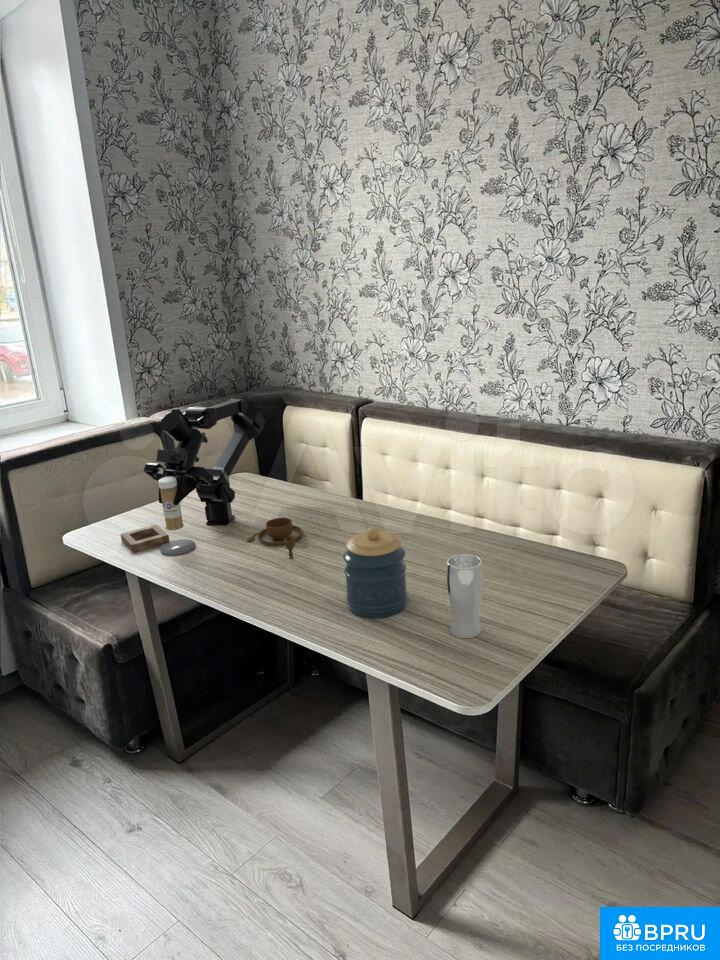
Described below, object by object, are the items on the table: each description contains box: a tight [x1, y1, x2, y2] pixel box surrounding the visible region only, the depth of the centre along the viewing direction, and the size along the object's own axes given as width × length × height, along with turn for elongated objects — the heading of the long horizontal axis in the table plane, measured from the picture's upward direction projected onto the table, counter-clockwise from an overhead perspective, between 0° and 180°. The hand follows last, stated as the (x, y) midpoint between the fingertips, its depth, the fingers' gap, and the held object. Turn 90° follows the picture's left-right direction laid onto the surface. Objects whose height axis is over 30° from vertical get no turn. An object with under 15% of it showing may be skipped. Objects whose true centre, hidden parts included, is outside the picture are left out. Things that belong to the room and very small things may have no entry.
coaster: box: [159, 538, 196, 556], centre depth 193 cm, size 9×9×1 cm
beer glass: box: [445, 553, 484, 639], centre depth 142 cm, size 7×7×15 cm
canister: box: [342, 526, 408, 619], centre depth 154 cm, size 13×13×18 cm
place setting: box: [246, 517, 308, 560], centre depth 191 cm, size 18×20×6 cm
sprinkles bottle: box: [157, 477, 184, 531], centre depth 189 cm, size 5×5×13 cm
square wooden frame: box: [120, 524, 170, 554], centre depth 198 cm, size 10×10×2 cm
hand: (167, 503), depth 188 cm, fingers closed on sprinkles bottle, 4 cm apart
